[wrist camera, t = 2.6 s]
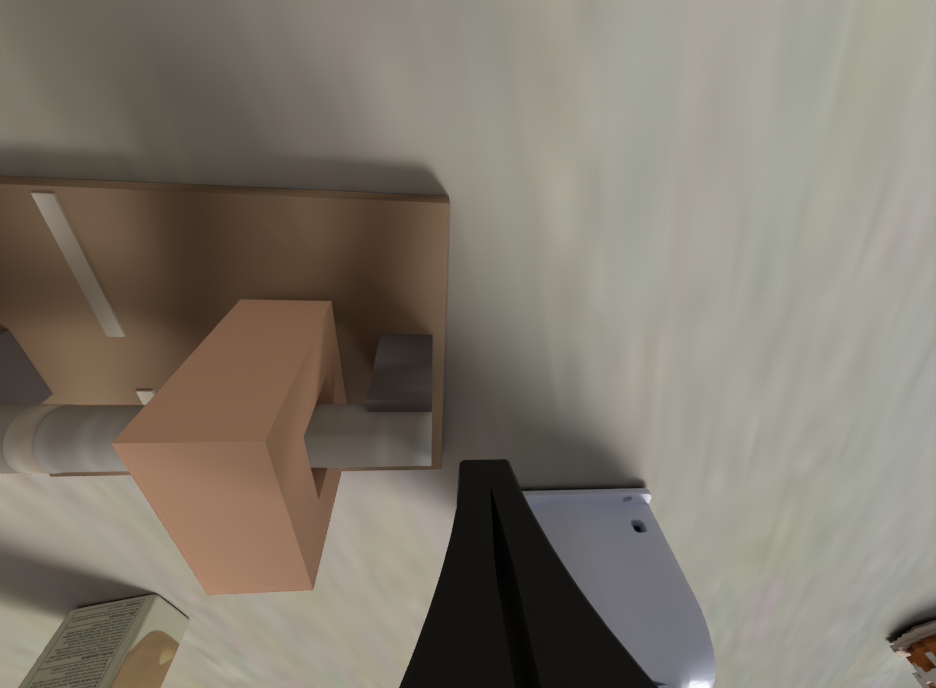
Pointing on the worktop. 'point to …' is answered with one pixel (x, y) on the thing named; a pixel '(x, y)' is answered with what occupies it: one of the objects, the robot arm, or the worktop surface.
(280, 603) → the worktop surface
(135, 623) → the skincare box
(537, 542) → the robot arm
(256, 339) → the collar
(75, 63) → the worktop surface
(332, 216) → the pipe rig
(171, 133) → the worktop surface
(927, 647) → the decorative ornament
